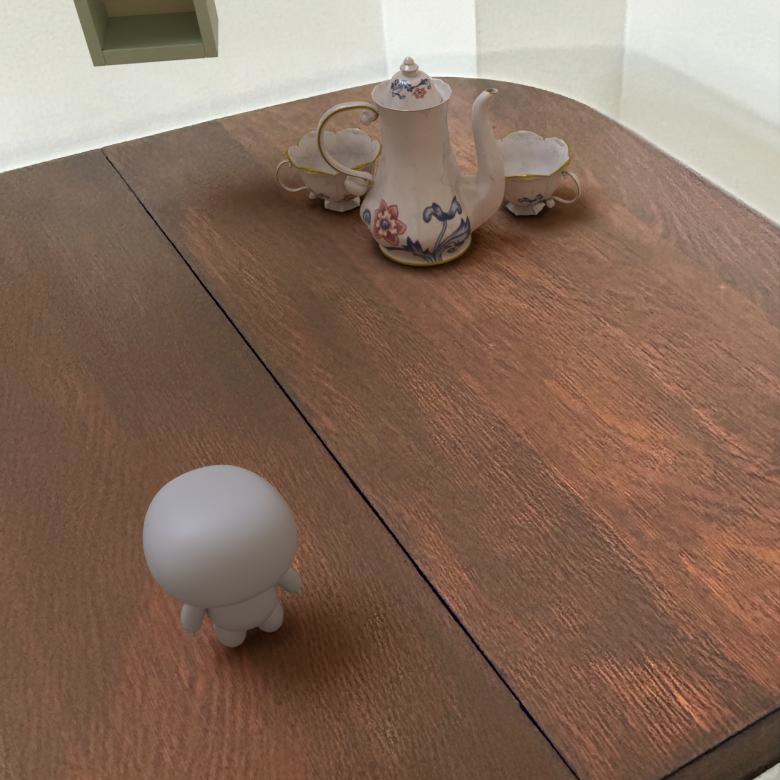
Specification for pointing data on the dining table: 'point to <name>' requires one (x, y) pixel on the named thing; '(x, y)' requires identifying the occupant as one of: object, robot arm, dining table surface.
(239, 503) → the figurine
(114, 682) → the dining table surface
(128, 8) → the shelf
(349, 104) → the chinaware
